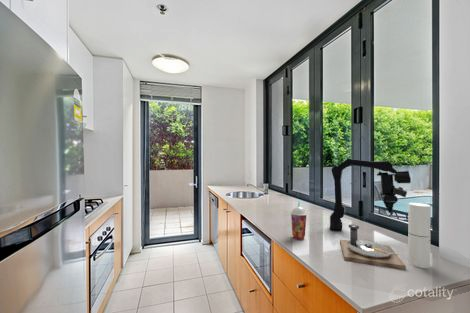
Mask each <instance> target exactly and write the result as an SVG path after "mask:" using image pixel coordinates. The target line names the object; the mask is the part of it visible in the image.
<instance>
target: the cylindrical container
mask: <svg viewBox="0 0 470 313" xmlns="http://www.w3.org/2000/svg"><path fill="white" fill-rule="evenodd" d="M407 206H408V211H407V212H408V213H407V214H408V223H407V224H408V227H407V229H408V230H407V231H408V234H407V235H408V237H407V239H408V244H407V245H408V246H407V248H408V249H407V250H408V251H407V253H408V254H407V255H408V256H407V261H408V264H410V265H412V266H414V267H417V268H422V269H430V268H431V214H432V213H431V212H432V210H431V208H432V207H431V205H430V204H426V203H420V202H409V203H408V205H407Z"/></svg>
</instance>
